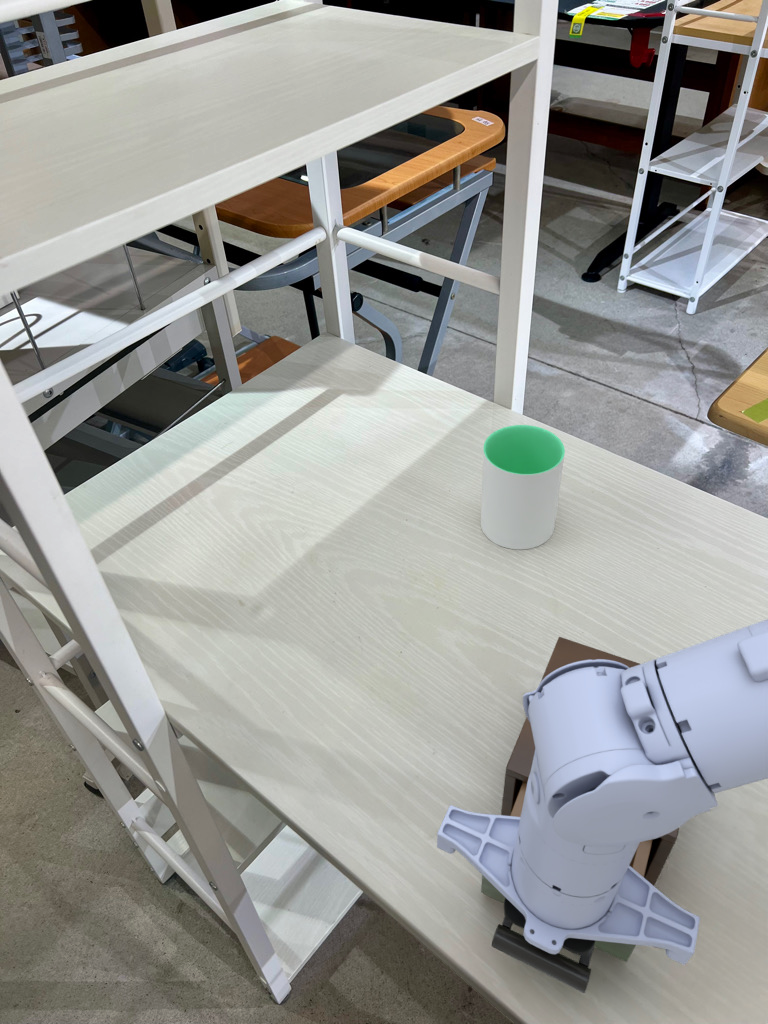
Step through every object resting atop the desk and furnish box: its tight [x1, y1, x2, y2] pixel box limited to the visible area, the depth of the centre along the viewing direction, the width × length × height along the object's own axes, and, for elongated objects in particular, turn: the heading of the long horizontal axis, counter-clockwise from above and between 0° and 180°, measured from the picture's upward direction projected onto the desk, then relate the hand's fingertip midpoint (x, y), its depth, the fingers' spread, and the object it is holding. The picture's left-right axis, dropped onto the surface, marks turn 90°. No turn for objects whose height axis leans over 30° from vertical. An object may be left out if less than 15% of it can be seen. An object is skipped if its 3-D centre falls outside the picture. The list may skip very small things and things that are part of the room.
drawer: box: [480, 781, 653, 994], centre depth 52 cm, size 16×10×7 cm, turn 153°
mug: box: [480, 424, 566, 550], centre depth 80 cm, size 12×8×10 cm
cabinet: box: [500, 636, 680, 887], centre depth 57 cm, size 13×12×9 cm
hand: (544, 930), depth 48 cm, fingers closed, pressing on drawer
